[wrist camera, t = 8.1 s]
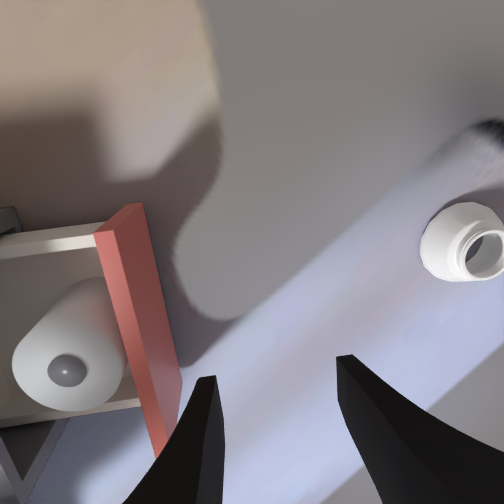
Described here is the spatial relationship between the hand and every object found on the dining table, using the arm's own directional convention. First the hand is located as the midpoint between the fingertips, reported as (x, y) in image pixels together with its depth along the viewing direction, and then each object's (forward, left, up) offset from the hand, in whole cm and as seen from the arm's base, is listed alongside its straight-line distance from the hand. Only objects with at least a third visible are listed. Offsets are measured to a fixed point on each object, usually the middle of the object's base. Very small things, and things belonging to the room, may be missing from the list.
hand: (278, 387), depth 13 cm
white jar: (+1, -13, -10) cm, 16 cm away
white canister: (0, +9, -8) cm, 12 cm away
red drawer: (0, +11, -9) cm, 14 cm away
